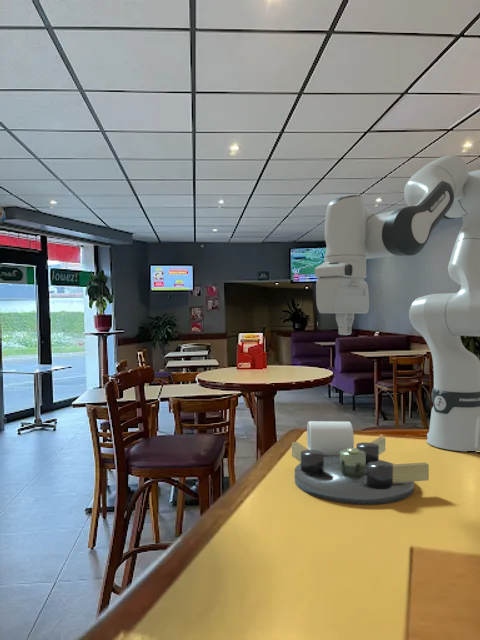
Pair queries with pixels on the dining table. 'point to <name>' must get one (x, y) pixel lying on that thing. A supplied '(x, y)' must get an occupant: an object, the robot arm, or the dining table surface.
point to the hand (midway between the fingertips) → (344, 334)
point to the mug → (329, 437)
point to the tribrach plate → (349, 481)
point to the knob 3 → (395, 473)
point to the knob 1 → (308, 458)
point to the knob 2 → (372, 449)
